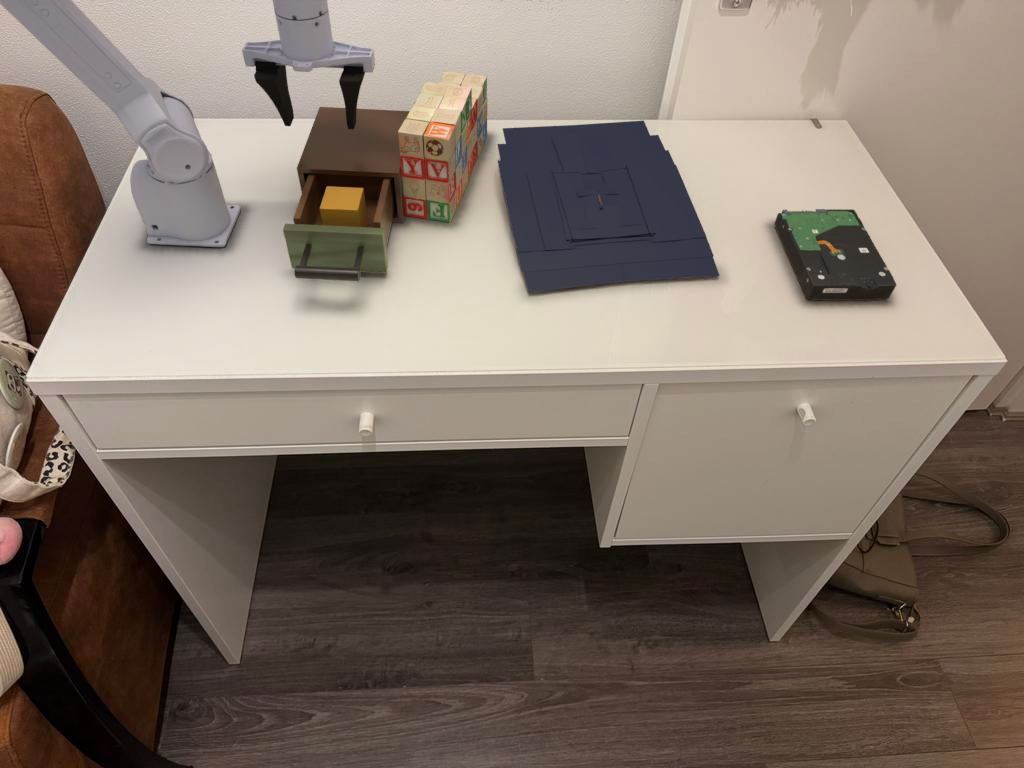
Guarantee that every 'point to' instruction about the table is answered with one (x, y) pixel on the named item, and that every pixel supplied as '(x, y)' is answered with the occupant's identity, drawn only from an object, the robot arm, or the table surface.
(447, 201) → the stack of blocks
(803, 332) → the table surface
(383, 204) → the drawer
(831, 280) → the disk drive
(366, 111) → the cabinet
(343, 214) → the block
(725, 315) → the table surface
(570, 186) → the navy folded towel
